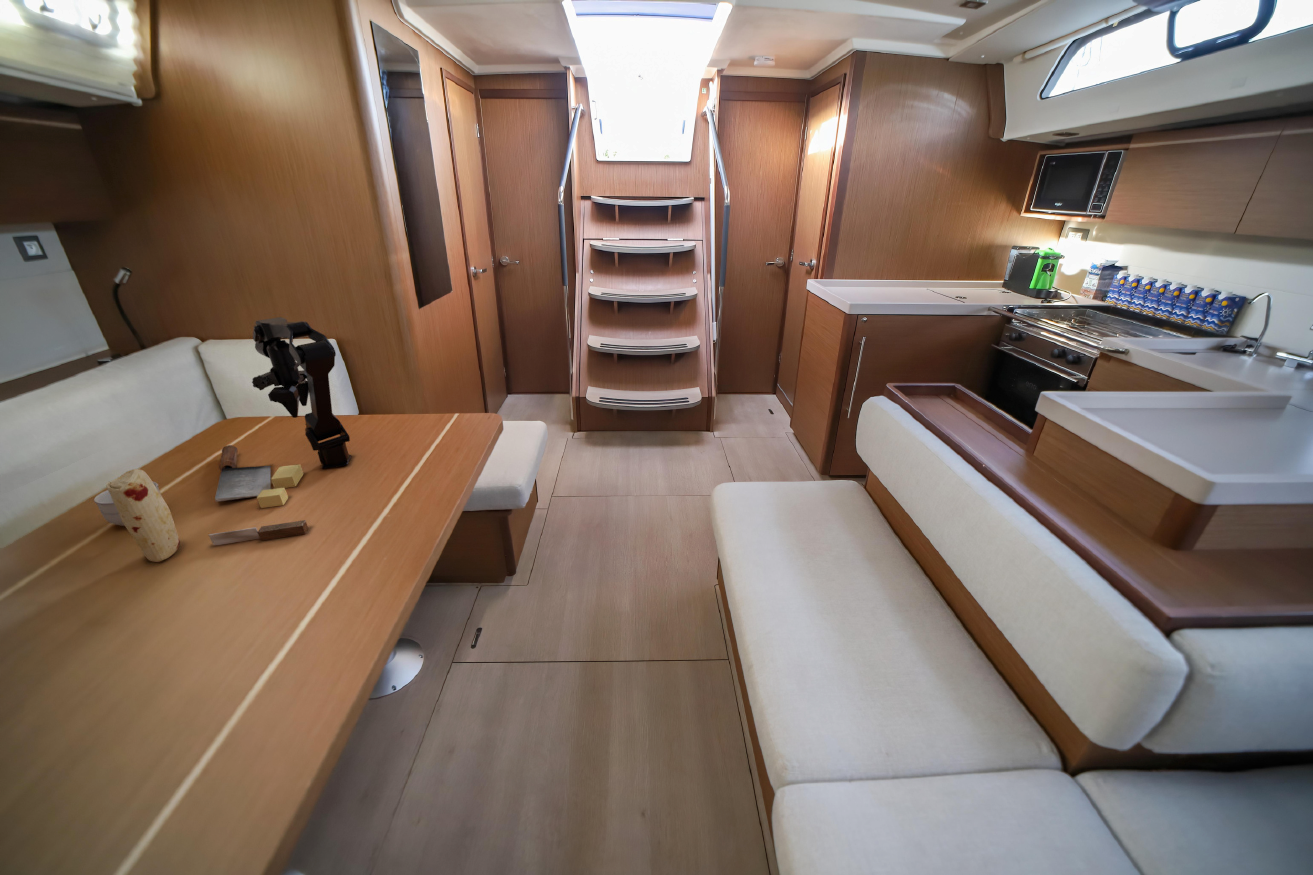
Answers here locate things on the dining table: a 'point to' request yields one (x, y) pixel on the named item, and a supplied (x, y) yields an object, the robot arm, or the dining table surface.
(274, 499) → the butter slice
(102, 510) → the teacup
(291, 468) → the butter block
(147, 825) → the dining table surface
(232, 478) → the meat cleaver
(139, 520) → the food model
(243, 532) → the knife
